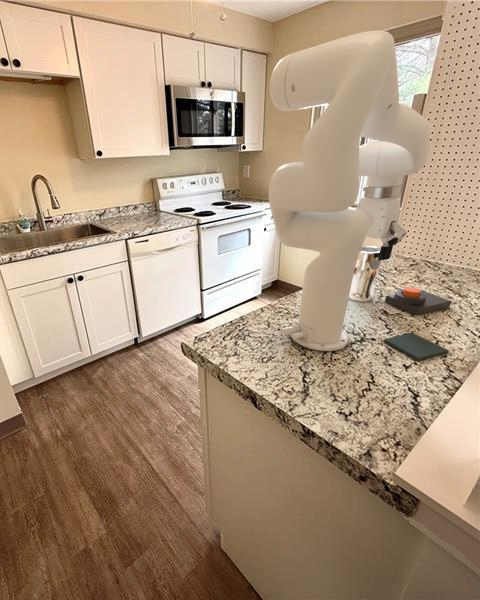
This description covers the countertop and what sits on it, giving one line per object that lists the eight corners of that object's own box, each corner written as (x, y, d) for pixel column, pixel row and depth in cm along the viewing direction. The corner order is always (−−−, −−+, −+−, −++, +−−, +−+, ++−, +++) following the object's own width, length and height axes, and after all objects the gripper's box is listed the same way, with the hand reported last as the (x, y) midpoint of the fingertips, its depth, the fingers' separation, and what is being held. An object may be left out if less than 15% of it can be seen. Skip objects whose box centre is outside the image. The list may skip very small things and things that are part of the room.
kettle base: (413, 316, 81) (417, 302, 80) (382, 302, 89) (385, 290, 88) (449, 308, 83) (454, 294, 82) (415, 295, 91) (419, 283, 90)
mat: (417, 361, 66) (418, 358, 65) (383, 342, 73) (384, 339, 73) (447, 353, 67) (449, 350, 67) (411, 335, 74) (412, 332, 74)
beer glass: (364, 291, 97) (375, 245, 90) (377, 301, 90) (389, 252, 84) (340, 293, 97) (349, 246, 91) (352, 302, 91) (362, 253, 85)
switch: (411, 299, 83) (413, 293, 82) (398, 294, 86) (400, 288, 85) (422, 296, 83) (424, 290, 82) (409, 291, 86) (411, 286, 86)
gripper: (343, 191, 88) (333, 249, 96) (401, 198, 73) (385, 266, 80) (365, 187, 89) (354, 245, 97) (427, 193, 74) (408, 261, 81)
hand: (368, 254), depth 89 cm, fingers open, 9 cm apart
